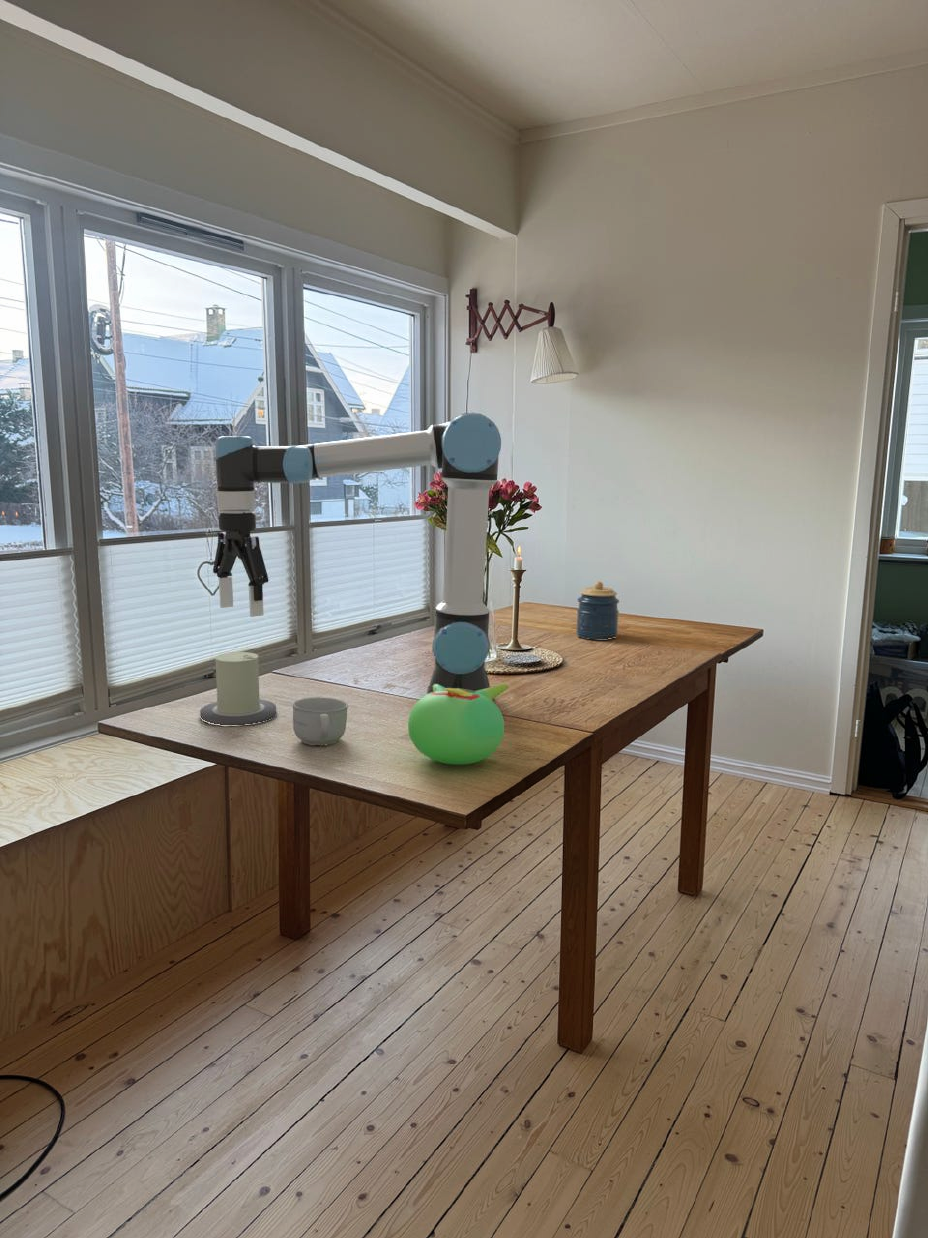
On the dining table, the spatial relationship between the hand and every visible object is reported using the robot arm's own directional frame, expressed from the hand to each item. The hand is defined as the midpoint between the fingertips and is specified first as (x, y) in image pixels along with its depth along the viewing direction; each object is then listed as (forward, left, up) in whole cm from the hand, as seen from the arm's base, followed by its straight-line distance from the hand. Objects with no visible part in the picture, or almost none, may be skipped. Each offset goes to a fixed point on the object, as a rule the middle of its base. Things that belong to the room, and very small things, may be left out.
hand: (241, 611), depth 187 cm
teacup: (-27, -2, -23) cm, 36 cm away
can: (0, +1, -21) cm, 21 cm away
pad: (0, +2, -23) cm, 23 cm away
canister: (+7, -124, -23) cm, 127 cm away
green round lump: (-51, -17, -23) cm, 59 cm away
